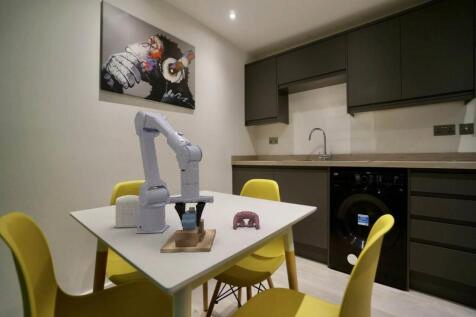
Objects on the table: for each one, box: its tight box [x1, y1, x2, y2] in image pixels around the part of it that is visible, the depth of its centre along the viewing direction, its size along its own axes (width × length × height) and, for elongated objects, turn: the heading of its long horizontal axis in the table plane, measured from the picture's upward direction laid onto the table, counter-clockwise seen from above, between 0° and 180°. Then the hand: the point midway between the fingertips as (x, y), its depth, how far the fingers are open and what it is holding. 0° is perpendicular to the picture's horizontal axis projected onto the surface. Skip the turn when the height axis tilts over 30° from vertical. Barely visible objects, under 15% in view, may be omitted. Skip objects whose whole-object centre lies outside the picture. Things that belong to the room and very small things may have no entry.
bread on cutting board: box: [159, 218, 217, 254], centre depth 69 cm, size 14×16×5 cm
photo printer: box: [115, 194, 142, 228], centre depth 85 cm, size 10×4×12 cm, turn 94°
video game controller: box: [232, 210, 260, 230], centre depth 82 cm, size 10×5×7 cm, turn 85°
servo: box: [180, 206, 199, 230], centre depth 69 cm, size 4×10×7 cm, turn 0°
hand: (191, 225), depth 69 cm, fingers closed on servo, 4 cm apart
